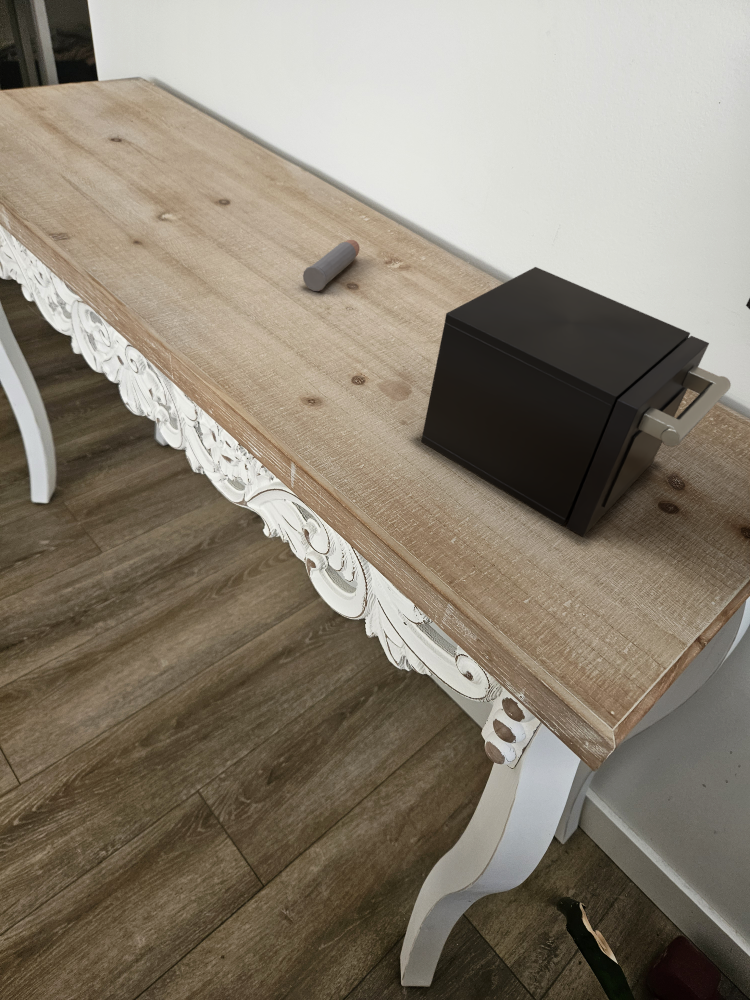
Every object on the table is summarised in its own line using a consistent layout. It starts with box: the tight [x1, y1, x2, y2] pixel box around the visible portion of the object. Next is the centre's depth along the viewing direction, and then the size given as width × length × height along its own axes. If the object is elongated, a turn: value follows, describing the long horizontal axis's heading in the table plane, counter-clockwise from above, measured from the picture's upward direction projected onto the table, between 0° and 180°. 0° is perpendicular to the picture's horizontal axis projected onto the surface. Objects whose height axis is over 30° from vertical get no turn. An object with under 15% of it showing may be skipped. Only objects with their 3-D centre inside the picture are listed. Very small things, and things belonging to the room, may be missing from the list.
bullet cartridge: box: [302, 239, 360, 292], centre depth 86 cm, size 11×3×3 cm, turn 157°
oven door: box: [566, 335, 732, 537], centre depth 57 cm, size 5×14×13 cm, turn 140°
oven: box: [420, 266, 691, 527], centre depth 61 cm, size 15×14×13 cm
